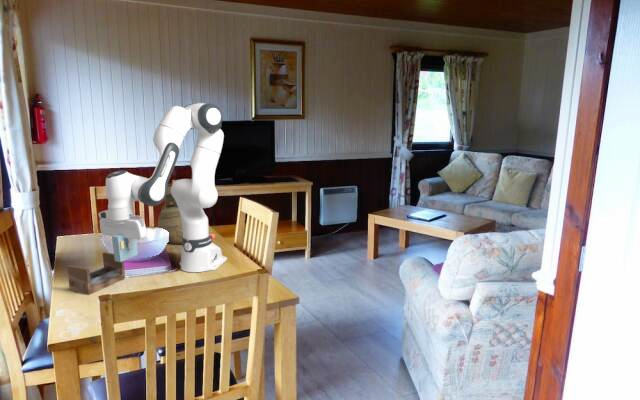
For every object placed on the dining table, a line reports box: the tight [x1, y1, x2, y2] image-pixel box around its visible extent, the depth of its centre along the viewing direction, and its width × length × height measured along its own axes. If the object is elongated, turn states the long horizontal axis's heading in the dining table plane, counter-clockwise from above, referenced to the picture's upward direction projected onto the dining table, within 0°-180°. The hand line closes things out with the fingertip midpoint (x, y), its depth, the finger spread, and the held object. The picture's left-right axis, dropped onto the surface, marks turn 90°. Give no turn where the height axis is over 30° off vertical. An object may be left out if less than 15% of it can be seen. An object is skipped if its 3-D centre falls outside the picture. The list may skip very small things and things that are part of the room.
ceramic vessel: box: [158, 183, 183, 245], centre depth 239 cm, size 19×21×30 cm
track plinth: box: [66, 251, 126, 296], centre depth 183 cm, size 18×10×10 cm, turn 158°
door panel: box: [111, 234, 139, 262], centre depth 179 cm, size 9×4×10 cm, turn 158°
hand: (125, 247), depth 179 cm, fingers closed on door panel, 3 cm apart
